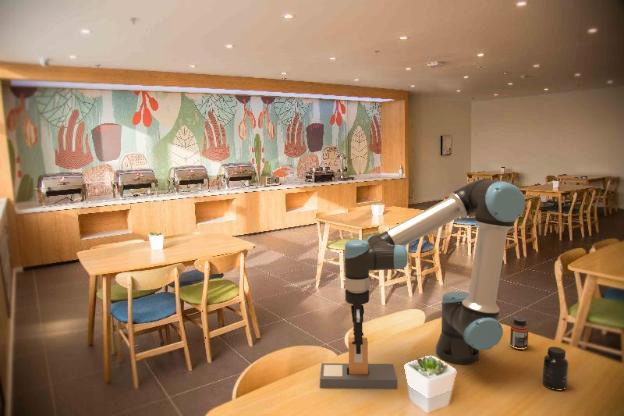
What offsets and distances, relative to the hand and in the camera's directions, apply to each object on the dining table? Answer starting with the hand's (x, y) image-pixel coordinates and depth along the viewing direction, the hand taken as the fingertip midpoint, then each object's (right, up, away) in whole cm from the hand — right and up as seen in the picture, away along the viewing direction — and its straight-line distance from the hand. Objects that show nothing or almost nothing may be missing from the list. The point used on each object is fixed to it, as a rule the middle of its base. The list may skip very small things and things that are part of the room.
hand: (358, 358), depth 143 cm
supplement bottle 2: (+62, -8, -3) cm, 62 cm away
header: (0, -8, +1) cm, 8 cm away
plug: (0, -5, +1) cm, 5 cm away
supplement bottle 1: (+63, -4, +23) cm, 67 cm away
